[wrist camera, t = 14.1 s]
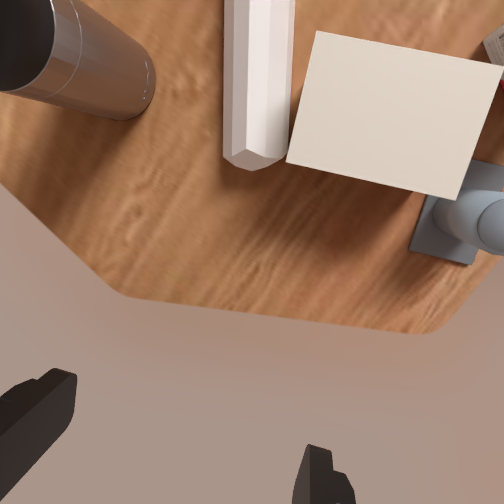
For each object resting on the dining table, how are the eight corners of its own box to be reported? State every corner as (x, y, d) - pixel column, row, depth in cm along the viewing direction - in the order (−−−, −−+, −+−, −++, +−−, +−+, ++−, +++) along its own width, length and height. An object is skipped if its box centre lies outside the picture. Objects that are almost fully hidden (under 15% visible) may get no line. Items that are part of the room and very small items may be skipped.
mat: (408, 249, 42) (409, 250, 41) (441, 153, 39) (443, 153, 38) (469, 263, 41) (471, 265, 40) (507, 167, 38) (510, 167, 38)
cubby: (291, 163, 41) (285, 162, 30) (313, 70, 39) (316, 30, 27) (413, 190, 40) (455, 200, 29) (445, 96, 38) (504, 66, 26)
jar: (425, 227, 40) (464, 247, 30) (443, 182, 39) (490, 186, 29) (472, 240, 40) (528, 264, 30) (491, 194, 38) (557, 203, 28)
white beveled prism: (199, -92, 34) (200, 169, 39) (259, -127, 29) (251, 172, 35) (248, -54, 39) (243, 170, 45) (305, -79, 35) (292, 172, 41)
